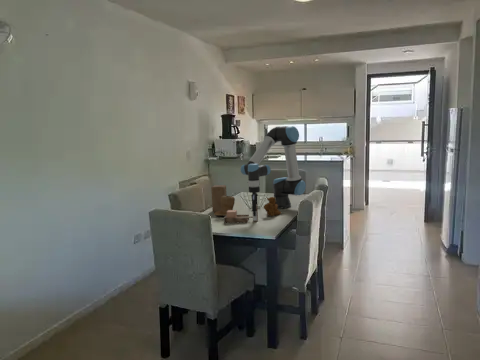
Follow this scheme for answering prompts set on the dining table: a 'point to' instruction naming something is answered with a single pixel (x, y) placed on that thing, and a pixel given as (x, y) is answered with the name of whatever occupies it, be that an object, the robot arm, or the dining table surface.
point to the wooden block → (217, 196)
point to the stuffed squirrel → (271, 207)
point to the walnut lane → (236, 219)
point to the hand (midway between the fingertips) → (255, 219)
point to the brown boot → (225, 205)
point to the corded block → (234, 214)
